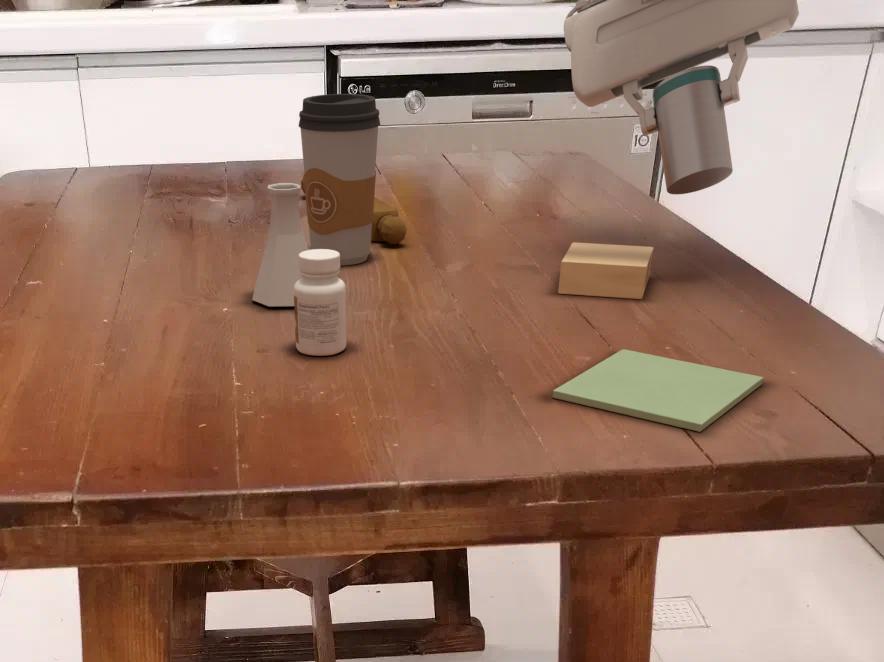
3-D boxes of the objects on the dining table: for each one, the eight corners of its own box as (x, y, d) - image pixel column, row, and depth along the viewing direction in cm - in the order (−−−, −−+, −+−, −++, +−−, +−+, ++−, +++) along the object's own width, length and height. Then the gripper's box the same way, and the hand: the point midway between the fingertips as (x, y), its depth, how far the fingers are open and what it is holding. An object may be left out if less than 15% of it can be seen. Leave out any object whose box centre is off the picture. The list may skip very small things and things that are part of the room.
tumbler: (658, 103, 107) (646, 83, 102) (723, 78, 104) (714, 56, 99) (672, 200, 108) (660, 184, 103) (737, 177, 105) (728, 161, 100)
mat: (762, 384, 86) (764, 376, 86) (700, 432, 79) (701, 424, 78) (621, 355, 92) (622, 348, 92) (551, 397, 85) (552, 390, 84)
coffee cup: (286, 260, 119) (280, 101, 109) (336, 245, 124) (334, 91, 114) (345, 272, 114) (344, 107, 105) (394, 256, 119) (397, 96, 110)
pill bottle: (309, 338, 98) (307, 245, 93) (354, 344, 96) (354, 249, 91) (286, 353, 94) (283, 257, 90) (332, 359, 93) (331, 262, 88)
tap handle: (321, 169, 143) (411, 216, 120) (321, 195, 145) (410, 246, 122) (299, 171, 142) (385, 219, 120) (299, 197, 144) (385, 249, 122)
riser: (568, 273, 112) (572, 242, 111) (648, 278, 110) (653, 246, 109) (557, 293, 107) (561, 261, 105) (641, 299, 105) (646, 266, 103)
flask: (242, 293, 109) (236, 182, 103) (312, 285, 111) (309, 175, 105) (262, 313, 104) (256, 197, 98) (334, 304, 105) (333, 190, 99)
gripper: (551, -4, 104) (574, 148, 106) (782, -108, 94) (803, 62, 96) (569, 20, 109) (590, 165, 111) (789, -75, 99) (808, 85, 101)
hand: (690, 117), depth 103 cm, fingers closed on tumbler, 6 cm apart
